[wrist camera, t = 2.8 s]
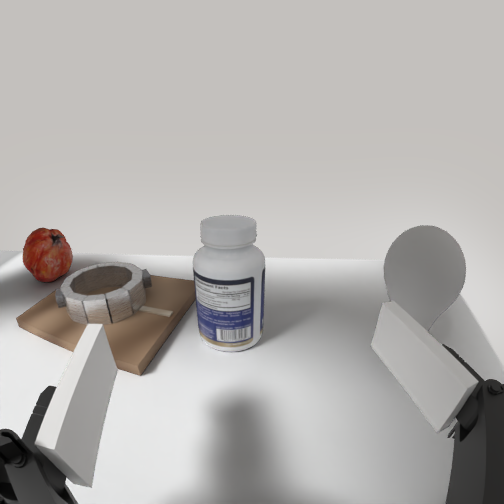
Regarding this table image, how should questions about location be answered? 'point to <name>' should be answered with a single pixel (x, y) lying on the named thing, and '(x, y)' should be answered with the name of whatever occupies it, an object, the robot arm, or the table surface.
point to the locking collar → (104, 305)
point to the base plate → (123, 332)
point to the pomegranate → (47, 254)
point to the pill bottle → (229, 283)
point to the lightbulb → (424, 272)
